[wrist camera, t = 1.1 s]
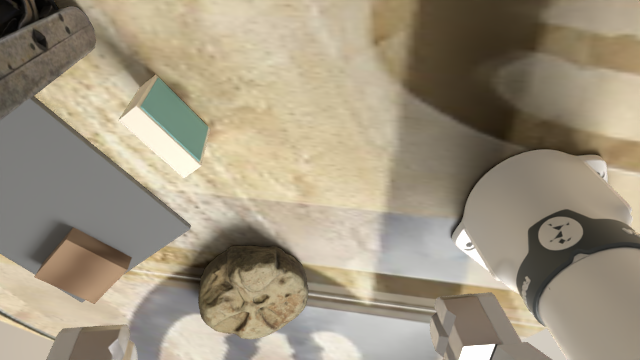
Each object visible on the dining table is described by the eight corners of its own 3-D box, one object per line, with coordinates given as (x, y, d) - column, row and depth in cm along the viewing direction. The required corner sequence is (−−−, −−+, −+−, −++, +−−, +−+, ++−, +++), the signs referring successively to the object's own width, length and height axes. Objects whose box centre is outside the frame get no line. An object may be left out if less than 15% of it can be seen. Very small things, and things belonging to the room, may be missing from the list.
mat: (190, 225, 49) (190, 228, 49) (83, 298, 54) (81, 302, 53) (8, 76, 38) (5, 78, 38) (-107, 183, 43) (-111, 187, 42)
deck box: (211, 128, 43) (201, 165, 37) (195, 139, 44) (183, 178, 38) (156, 73, 40) (137, 105, 34) (140, 86, 40) (118, 120, 34)
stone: (178, 281, 54) (170, 316, 50) (253, 220, 50) (251, 253, 46) (255, 326, 60) (254, 360, 56) (328, 275, 56) (333, 309, 52)
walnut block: (132, 257, 50) (127, 270, 49) (99, 290, 53) (94, 303, 51) (73, 227, 47) (66, 239, 45) (42, 263, 49) (34, 276, 48)
